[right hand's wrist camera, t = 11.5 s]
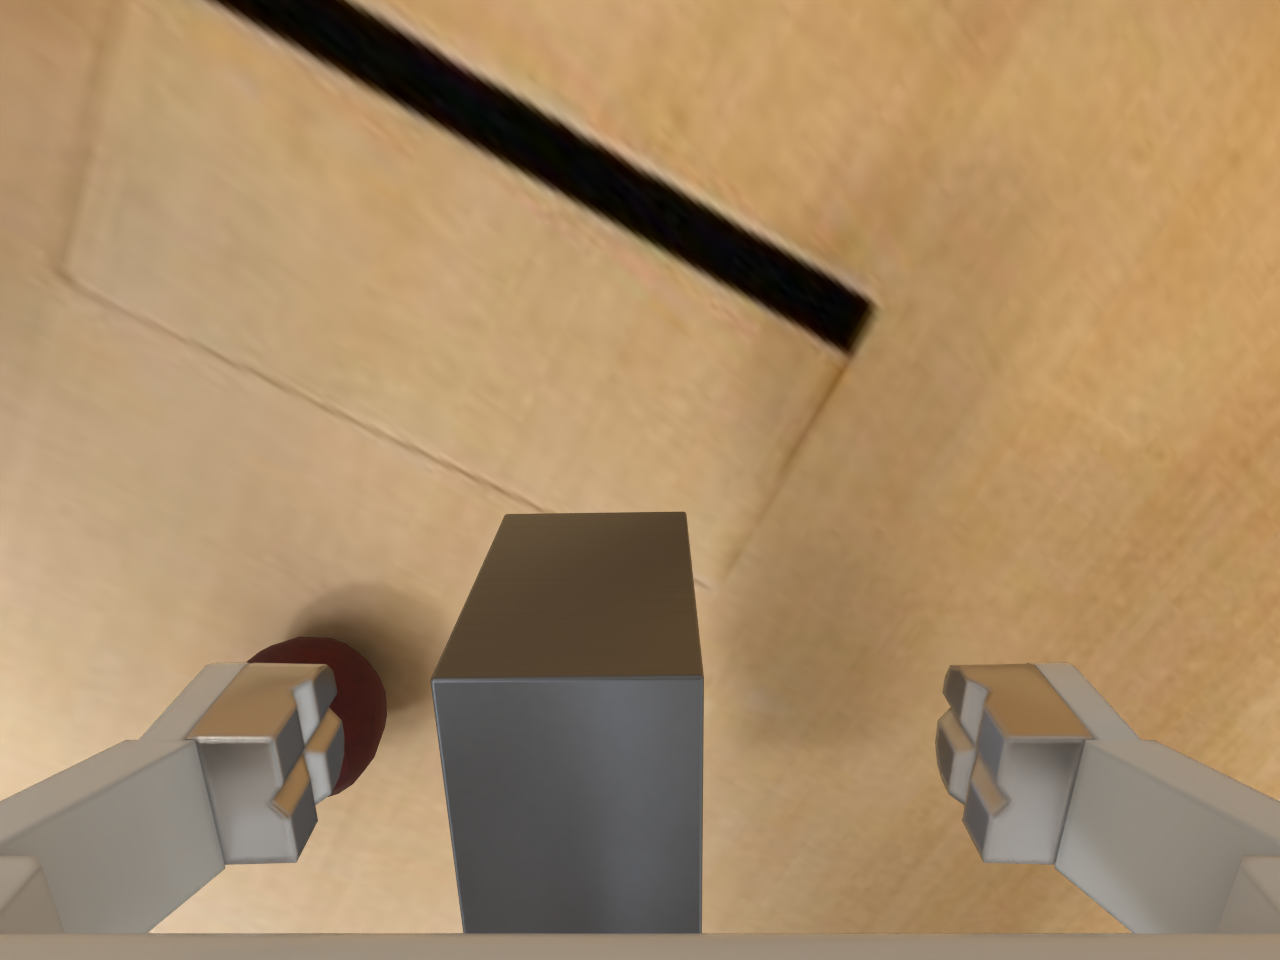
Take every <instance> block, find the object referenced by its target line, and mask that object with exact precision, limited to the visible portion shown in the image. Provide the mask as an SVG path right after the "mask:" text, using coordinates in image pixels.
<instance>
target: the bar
mask: <svg viewBox="0 0 1280 960" xmlns="http://www.w3.org/2000/svg"><path fill="white" fill-rule="evenodd" d="M431 688H432V695H433V703H434V711H435V718H436V726H437V734H438V741H439V749H440V757H441V764H442V772H443V780H444V787H445V795H446V803H447V811H448V818H449V826H450V834H451V841H452V849H453V857H454V864H455V872H456V880H457V887H458V895H459V903H460V910H461V918H462V926H463V933H561V934H702V837H703V716H704V675H703V666H702V656H701V647H700V638H699V628H698V619H697V610H696V600H695V591H694V582H693V572H692V563H691V554H690V544H689V535H688V526H687V516H686V513H685V512H633V513H561V514H506V515H505V516H504V518H503V521H502V523H501V525H500V527H499V529H498V532H497V534H496V536H495V538H494V540H493V543H492V545H491V547H490V549H489V552H488V554H487V556H486V558H485V560H484V563H483V565H482V567H481V569H480V571H479V574H478V576H477V578H476V580H475V583H474V585H473V587H472V589H471V591H470V594H469V596H468V598H467V600H466V603H465V605H464V607H463V609H462V611H461V614H460V616H459V618H458V620H457V622H456V625H455V627H454V629H453V631H452V634H451V636H450V638H449V640H448V642H447V645H446V647H445V649H444V651H443V654H442V656H441V658H440V660H439V662H438V665H437V667H436V669H435V671H434V673H433V676H432V678H431Z"/></svg>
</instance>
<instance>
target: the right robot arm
mask: <svg viewBox="0 0 1280 960" xmlns="http://www.w3.org/2000/svg"><path fill="white" fill-rule="evenodd" d="M336 694H337V687H336V682H335V677H334V672H333V670H332V669H331V668H330V667H329V666H328V665H327V664H288V663H252V664H251V663H248V662H244V663H213V664H210V665H206V666H205V667H204V668H203V669H202V670H201V671H200V673H199V674H198V675H197V676H196V677H195V678H194V679H193V680H192V681H191V682H190V684H189V685H188V686H187V687H186V688H185V689H184V690H183V691H182V692H181V694H180V695H179V696H178V697H177V698H176V699H175V700H174V701H173V702H172V703H171V705H170V706H169V707H168V708H167V709H166V710H165V711H164V712H163V713H162V714H161V716H160V717H159V718H158V719H157V720H156V721H155V722H154V723H153V724H152V726H151V727H150V728H149V729H148V730H147V731H146V732H145V733H144V734H143V735H142V737H141V738H140V739H139V740H125V741H123V742H121V743H119V744H117V745H115V746H113V747H111V748H109V749H107V750H105V751H102V752H100V753H98V754H96V755H94V756H92V757H90V758H88V759H86V760H84V761H82V762H80V763H78V764H76V765H74V766H72V767H70V768H68V769H66V770H64V771H62V772H59V773H57V774H55V775H53V776H51V777H49V778H47V779H45V780H43V781H41V782H39V783H37V784H35V785H33V786H31V787H29V788H27V789H25V790H23V791H21V792H18V793H16V794H14V795H12V796H10V797H8V798H6V799H4V800H2V801H0V960H1280V801H1278V800H1276V799H1273V798H1271V797H1269V796H1267V795H1265V794H1263V793H1261V792H1259V791H1257V790H1255V789H1253V788H1251V787H1249V786H1247V785H1245V784H1243V783H1241V782H1239V781H1237V780H1235V779H1233V778H1231V777H1229V776H1226V775H1224V774H1222V773H1220V772H1218V771H1216V770H1214V769H1212V768H1210V767H1208V766H1206V765H1204V764H1202V763H1200V762H1198V761H1196V760H1194V759H1192V758H1190V757H1188V756H1186V755H1184V754H1182V753H1180V752H1177V751H1175V750H1173V749H1171V748H1169V747H1167V746H1165V745H1163V744H1161V743H1159V742H1157V741H1155V740H1141V739H1140V738H1139V737H1138V735H1137V734H1136V733H1135V732H1134V731H1133V730H1132V729H1131V728H1130V727H1129V726H1128V724H1127V723H1126V722H1125V721H1124V720H1123V719H1122V718H1121V717H1120V716H1119V714H1118V713H1117V712H1116V711H1115V710H1114V709H1113V708H1112V707H1111V706H1110V705H1109V703H1108V702H1107V701H1106V700H1105V699H1104V698H1103V697H1102V696H1101V695H1100V694H1099V692H1098V691H1097V690H1096V689H1095V688H1094V687H1093V686H1092V685H1091V684H1090V682H1089V681H1088V680H1087V679H1086V678H1085V677H1084V676H1083V675H1082V674H1081V673H1080V671H1079V670H1078V669H1077V668H1076V667H1075V666H1073V665H1071V664H1068V663H1066V662H1052V663H1027V664H999V665H950V667H949V669H948V671H947V673H946V675H945V681H944V686H943V694H944V696H945V698H946V699H947V701H948V703H949V704H950V706H951V708H950V709H949V710H948V711H947V712H946V713H945V714H944V715H943V716H942V717H941V718H940V719H939V720H938V724H937V732H936V741H935V745H936V756H937V765H938V768H939V772H940V775H941V778H942V781H943V783H944V785H945V787H946V789H947V791H948V793H949V795H951V796H952V797H954V798H955V799H957V800H958V801H959V802H961V803H962V804H964V805H965V807H964V813H963V819H962V821H963V823H964V825H965V827H966V829H967V831H968V833H969V835H970V837H971V839H972V841H973V843H974V845H975V846H976V848H977V850H978V852H979V854H980V856H981V858H982V860H983V862H984V863H1016V864H1052V865H1055V869H1056V870H1058V871H1059V872H1060V873H1061V874H1063V875H1064V876H1065V877H1066V878H1067V879H1069V880H1070V881H1071V882H1072V883H1073V884H1075V885H1076V886H1077V887H1078V888H1079V889H1081V890H1082V891H1083V892H1084V893H1085V894H1087V895H1088V896H1089V897H1090V898H1091V899H1093V900H1094V901H1095V902H1096V903H1097V904H1099V905H1100V906H1101V907H1102V908H1104V909H1105V910H1106V911H1107V912H1108V913H1110V914H1111V915H1112V916H1113V917H1114V918H1116V919H1117V920H1118V921H1119V922H1120V923H1122V924H1123V925H1124V926H1125V927H1126V928H1128V929H1129V930H1130V931H1131V932H1132V933H1006V934H561V933H321V934H160V933H148V932H149V931H150V930H151V929H153V928H154V927H155V926H156V925H157V924H159V923H160V922H161V921H162V920H163V919H165V918H166V917H167V916H168V915H170V914H171V913H172V912H173V911H174V910H176V909H177V908H178V907H179V906H180V905H182V904H183V903H184V902H185V901H186V900H188V899H189V898H190V897H191V896H192V895H194V894H195V893H196V892H197V891H199V890H200V889H201V888H202V887H203V886H205V885H206V884H207V883H208V882H209V881H211V880H212V879H213V878H214V877H215V876H217V875H218V874H219V873H220V872H221V871H223V870H224V869H225V865H228V864H263V863H296V862H297V860H298V858H299V856H300V854H301V852H302V850H303V849H304V847H305V845H306V843H307V841H308V839H309V837H310V835H311V833H312V831H313V829H314V827H315V825H316V823H317V821H318V819H317V813H316V807H315V805H316V804H318V803H319V802H321V801H322V800H323V799H325V798H326V797H328V796H329V795H331V793H332V791H333V789H334V787H335V785H336V783H337V781H338V779H339V776H340V771H341V767H342V762H343V758H344V731H343V724H342V720H341V719H340V718H339V717H338V716H337V715H336V714H335V713H334V712H333V711H332V710H331V709H330V708H329V706H330V704H331V703H332V701H333V699H334V698H335V696H336Z"/></svg>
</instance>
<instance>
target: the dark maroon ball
mask: <svg viewBox="0 0 1280 960" xmlns="http://www.w3.org/2000/svg"><path fill="white" fill-rule="evenodd" d="M247 662H248V663H251V664H252V663H288V664H327V665H328V666H329V667H330V668H331V669H332V670H333V672H334V677H335V682H336V687H337V694H336V696H335V698H334V699H333V701H332V703H331V704H330V706H329V708H330V709H331V710H332V711H333V712H334V713H335V714H336V715H337V716H338V717H339V718H340V719H341V720H342V724H343V731H344V758H343V762H342V767H341V771H340V776H339V779H338V781H337V783H336V785H335V787H334V789H333V791H332V793H331V795H329V796H332V795H336V794H339V793H340V792H342V791H343V790H345V789H346V788H348V787H349V786H351V785H352V784H353V783H354V782H355V781H356V780H357V779H358V777H359V776H360V775H361V774H362V773H363V771H364V770H365V769H366V768H367V766H368V765H369V764H370V762H371V761H372V759H373V758H374V757H375V754H376V751H377V748H378V745H379V742H380V740H381V737H382V734H383V731H384V728H385V723H386V717H387V707H386V693H385V690H384V687H383V685H382V682H381V680H380V677H379V676H378V674H377V673H376V671H375V670H374V669H373V667H372V666H371V664H370V663H369V662H368V661H367V660H366V659H365V658H364V657H363V656H361V655H360V654H359V653H358V652H356V651H355V650H354V649H352V648H351V647H350V646H348V645H347V644H345V643H342V642H339V641H337V640H334V639H332V638H313V637H298V638H295V639H291V640H288V641H285V642H282V643H278V644H275V645H272V646H270V647H268V648H266V649H264V650H262V651H260V652H259V653H258V654H256V655H255V656H254V657H252V658H251V659H250V660H249V661H247ZM329 796H328V797H329Z"/></svg>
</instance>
